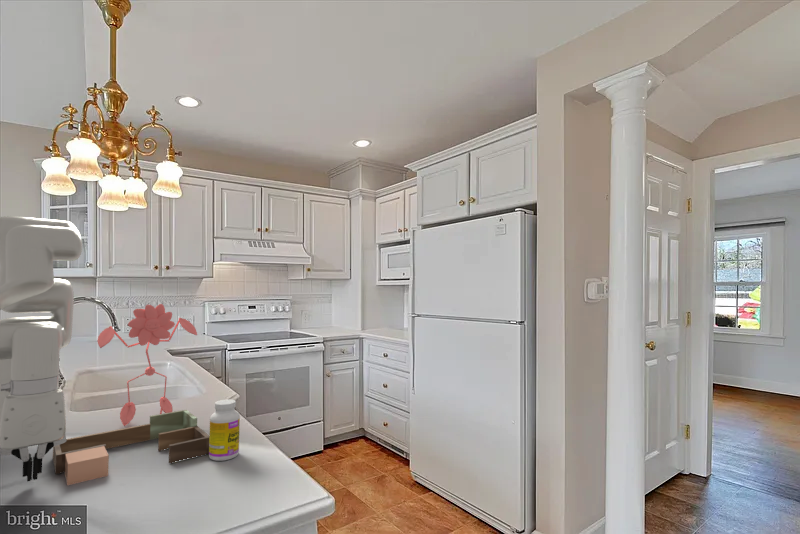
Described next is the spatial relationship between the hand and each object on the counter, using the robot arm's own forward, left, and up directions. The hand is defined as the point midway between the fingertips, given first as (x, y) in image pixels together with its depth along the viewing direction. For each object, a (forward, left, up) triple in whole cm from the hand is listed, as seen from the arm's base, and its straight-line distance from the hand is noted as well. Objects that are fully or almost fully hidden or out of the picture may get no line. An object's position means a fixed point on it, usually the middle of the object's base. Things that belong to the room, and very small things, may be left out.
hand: (32, 478), depth 88 cm
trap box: (-5, +18, -2) cm, 19 cm away
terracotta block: (0, +9, -2) cm, 9 cm away
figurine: (-30, +27, -2) cm, 41 cm away
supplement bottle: (+9, +35, -2) cm, 36 cm away
